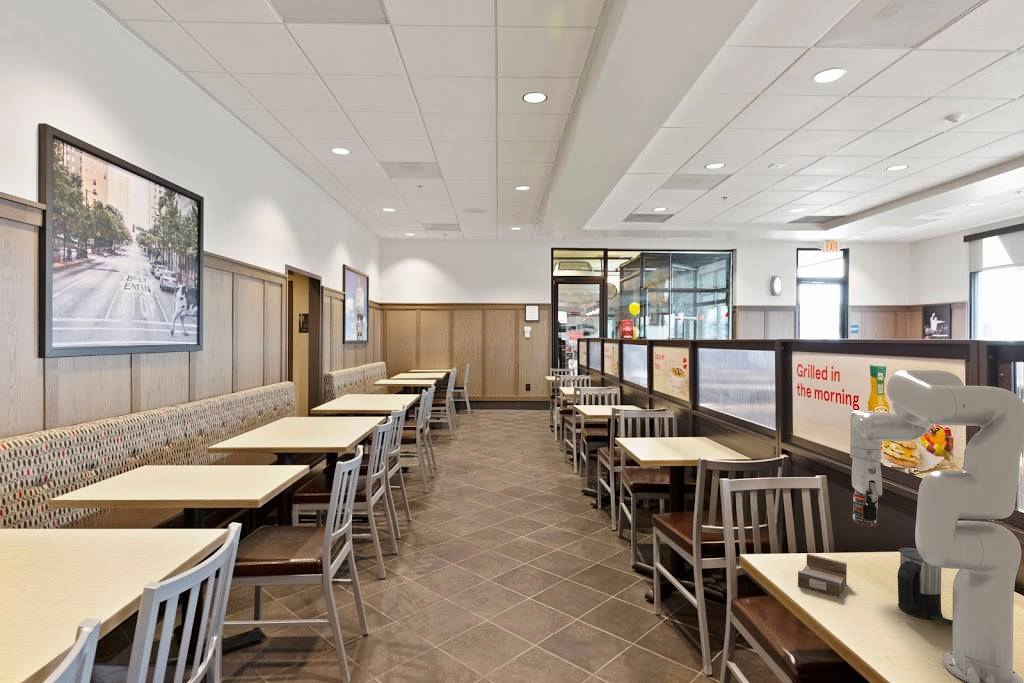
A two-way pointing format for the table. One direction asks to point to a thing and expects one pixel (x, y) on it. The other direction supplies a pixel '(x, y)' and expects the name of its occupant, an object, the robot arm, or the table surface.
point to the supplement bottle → (861, 510)
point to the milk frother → (919, 586)
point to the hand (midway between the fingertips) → (865, 515)
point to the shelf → (823, 575)
